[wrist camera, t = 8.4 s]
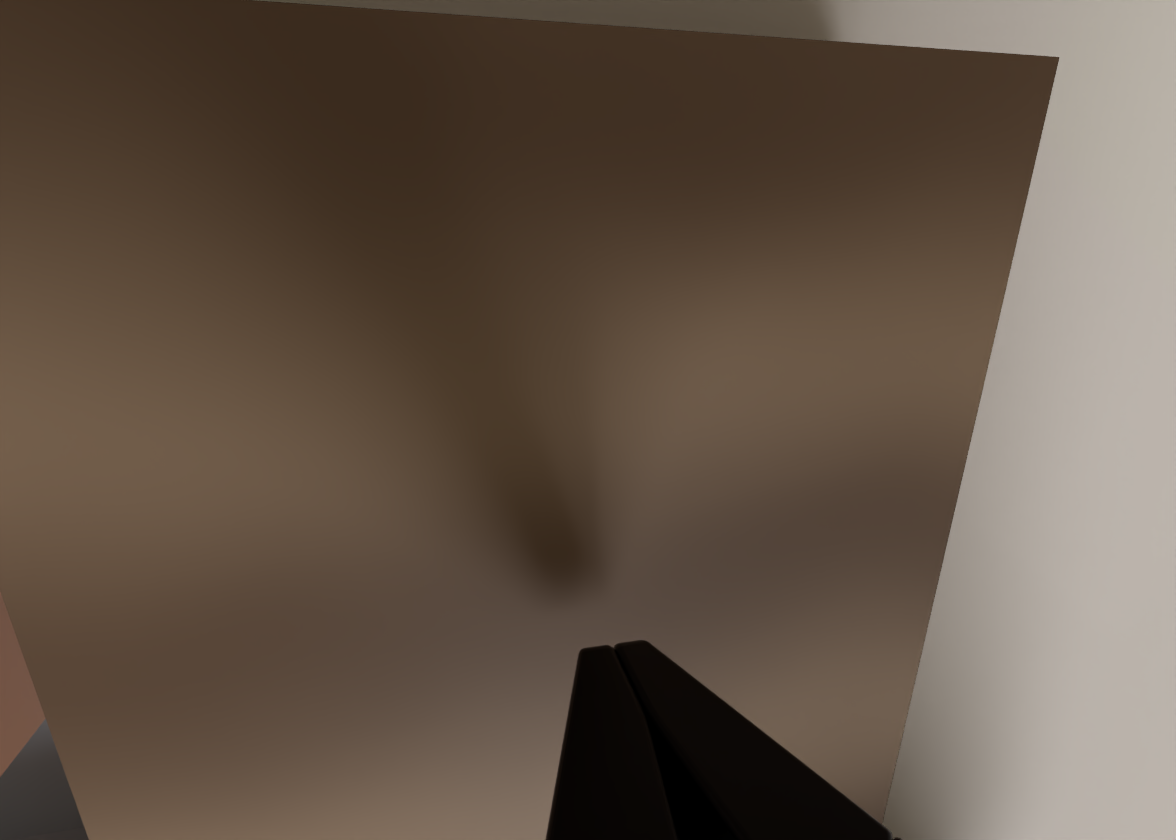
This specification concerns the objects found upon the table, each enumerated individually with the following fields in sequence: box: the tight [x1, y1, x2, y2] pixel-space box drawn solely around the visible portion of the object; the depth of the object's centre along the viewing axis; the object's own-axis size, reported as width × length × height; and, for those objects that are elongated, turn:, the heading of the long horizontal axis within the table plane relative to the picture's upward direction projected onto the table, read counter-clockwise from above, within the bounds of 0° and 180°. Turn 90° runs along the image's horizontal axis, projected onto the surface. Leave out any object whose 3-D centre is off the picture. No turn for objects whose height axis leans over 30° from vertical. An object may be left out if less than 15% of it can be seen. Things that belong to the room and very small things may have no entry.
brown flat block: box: [0, 0, 1059, 840], centre depth 10 cm, size 14×12×4 cm
